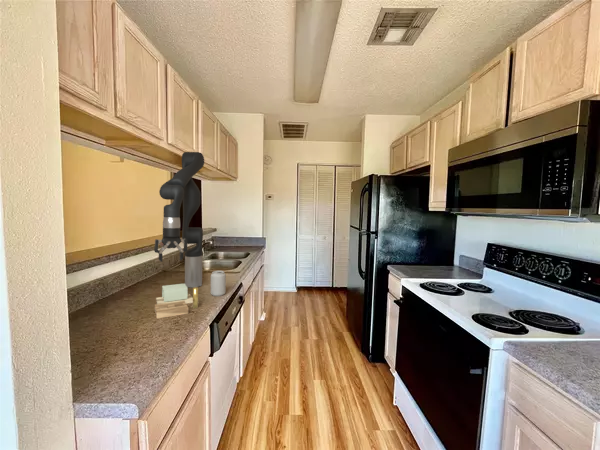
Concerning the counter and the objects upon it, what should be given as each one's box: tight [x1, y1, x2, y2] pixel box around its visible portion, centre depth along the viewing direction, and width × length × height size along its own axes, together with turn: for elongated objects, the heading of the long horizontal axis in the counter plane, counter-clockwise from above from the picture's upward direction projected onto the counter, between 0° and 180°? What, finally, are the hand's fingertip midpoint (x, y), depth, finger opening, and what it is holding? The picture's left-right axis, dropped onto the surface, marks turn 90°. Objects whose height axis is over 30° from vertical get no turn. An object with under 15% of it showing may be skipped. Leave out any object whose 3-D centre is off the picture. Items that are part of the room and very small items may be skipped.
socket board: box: [154, 301, 189, 320], centre depth 120 cm, size 10×12×2 cm
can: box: [210, 270, 227, 297], centre depth 145 cm, size 8×8×12 cm
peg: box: [192, 287, 199, 309], centre depth 125 cm, size 2×2×9 cm
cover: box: [161, 282, 189, 302], centre depth 132 cm, size 8×10×5 cm
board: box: [155, 293, 193, 305], centre depth 132 cm, size 10×15×4 cm, turn 122°
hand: (171, 260), depth 133 cm, fingers open, 8 cm apart
